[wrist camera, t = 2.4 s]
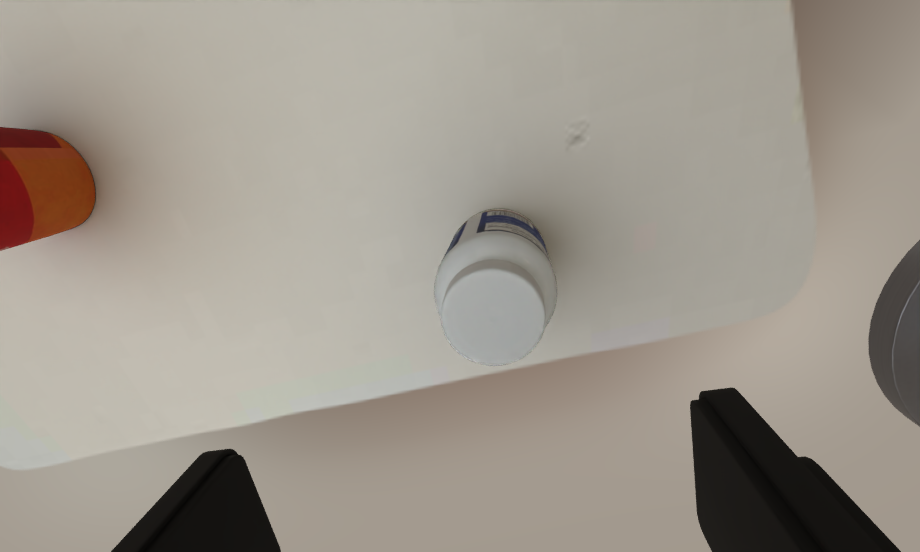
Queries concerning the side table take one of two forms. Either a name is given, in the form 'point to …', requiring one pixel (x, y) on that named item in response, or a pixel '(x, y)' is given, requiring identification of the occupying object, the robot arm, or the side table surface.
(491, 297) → the pill bottle
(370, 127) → the side table surface
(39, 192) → the coffee cup
